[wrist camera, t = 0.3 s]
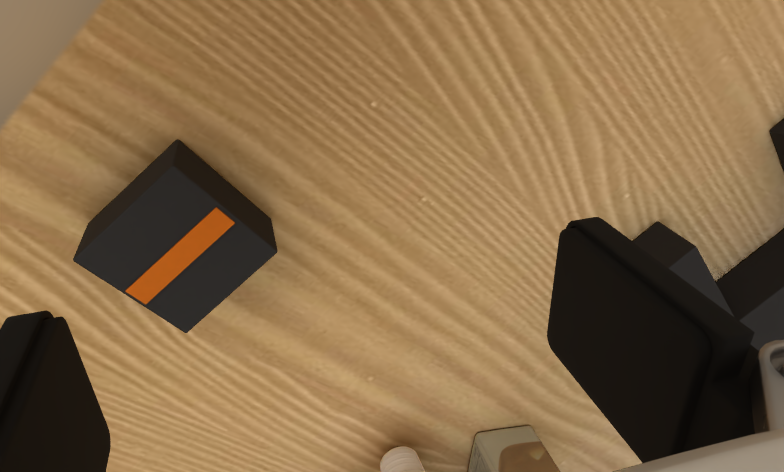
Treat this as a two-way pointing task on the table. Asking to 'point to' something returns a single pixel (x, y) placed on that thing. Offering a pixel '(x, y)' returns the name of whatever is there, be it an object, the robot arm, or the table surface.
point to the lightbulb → (401, 461)
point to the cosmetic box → (510, 452)
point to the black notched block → (732, 273)
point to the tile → (177, 239)
